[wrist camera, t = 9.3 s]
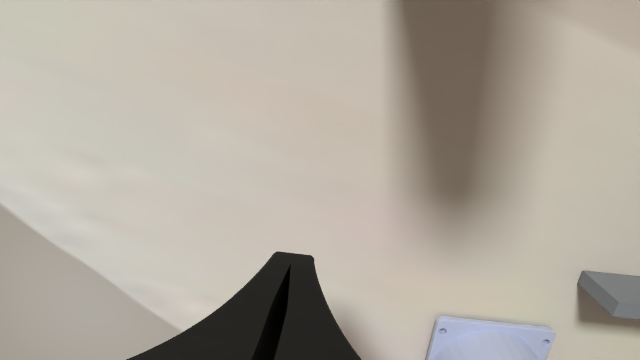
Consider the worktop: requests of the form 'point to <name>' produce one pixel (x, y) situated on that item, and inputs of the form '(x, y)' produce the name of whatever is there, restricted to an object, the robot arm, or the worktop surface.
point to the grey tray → (614, 292)
